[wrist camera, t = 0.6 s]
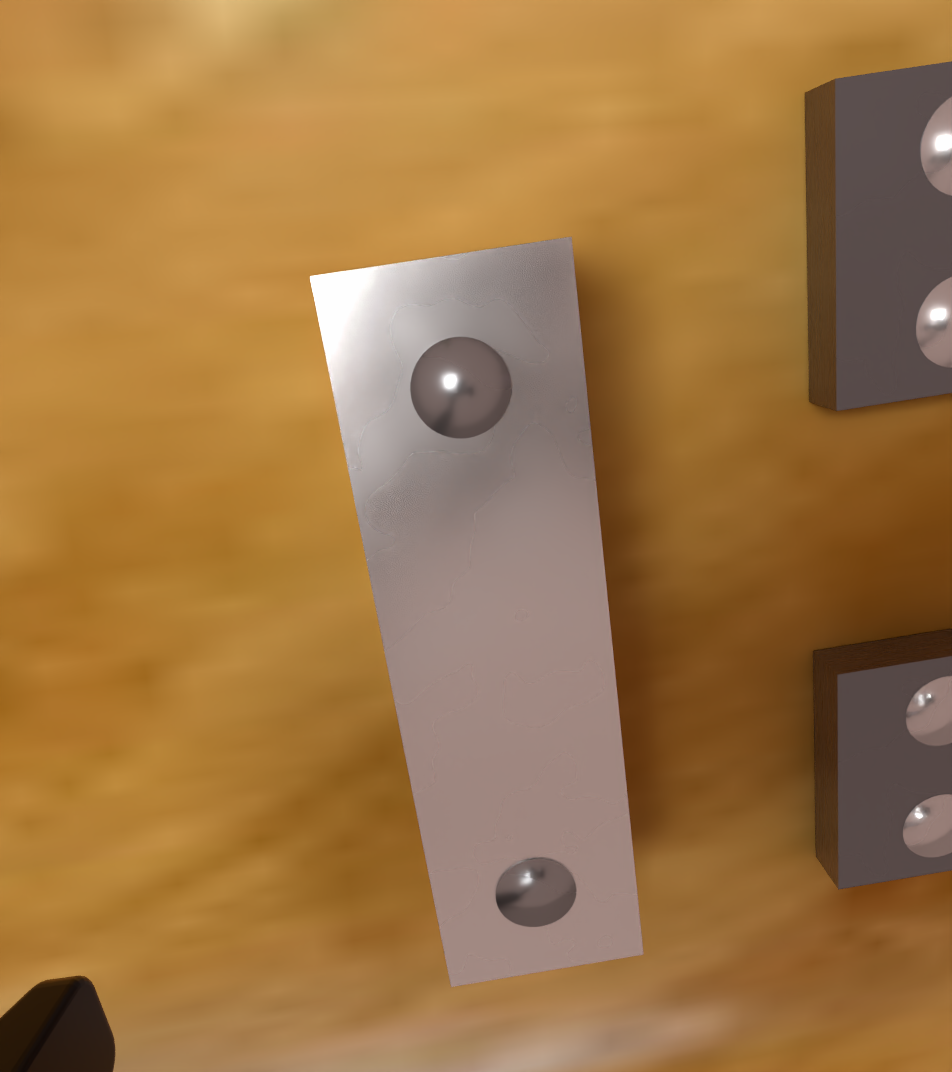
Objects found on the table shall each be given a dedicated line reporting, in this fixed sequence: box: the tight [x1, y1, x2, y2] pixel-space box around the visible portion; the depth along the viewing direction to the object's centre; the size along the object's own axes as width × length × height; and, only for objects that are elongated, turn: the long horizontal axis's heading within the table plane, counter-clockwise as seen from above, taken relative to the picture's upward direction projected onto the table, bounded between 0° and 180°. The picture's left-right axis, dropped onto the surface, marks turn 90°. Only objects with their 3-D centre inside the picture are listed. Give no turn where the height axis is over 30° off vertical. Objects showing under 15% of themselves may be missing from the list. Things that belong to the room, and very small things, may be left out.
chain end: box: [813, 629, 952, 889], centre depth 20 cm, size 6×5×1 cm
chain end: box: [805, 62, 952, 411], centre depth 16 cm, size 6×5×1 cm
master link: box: [310, 237, 643, 987], centre depth 16 cm, size 14×4×4 cm, turn 8°
